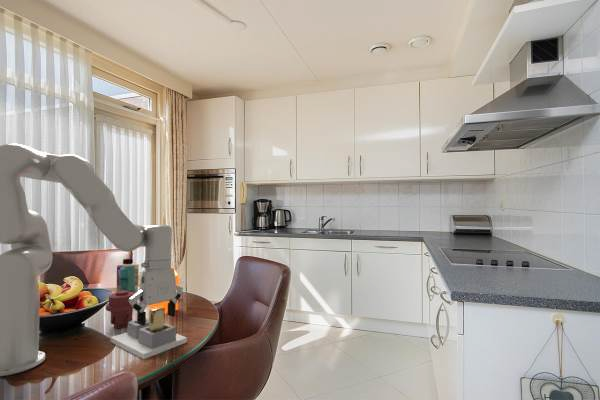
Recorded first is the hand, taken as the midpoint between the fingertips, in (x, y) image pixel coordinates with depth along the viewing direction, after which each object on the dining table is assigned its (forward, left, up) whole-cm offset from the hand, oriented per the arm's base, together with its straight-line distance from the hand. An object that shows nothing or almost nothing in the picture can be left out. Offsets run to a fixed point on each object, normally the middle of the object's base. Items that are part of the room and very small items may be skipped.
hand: (156, 319), depth 98 cm
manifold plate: (0, +5, -8) cm, 9 cm away
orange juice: (+21, +31, -8) cm, 38 cm away
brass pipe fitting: (0, 0, -7) cm, 7 cm away
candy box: (+23, +66, -8) cm, 70 cm away
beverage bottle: (+17, +54, -8) cm, 57 cm away
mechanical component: (+2, +27, -8) cm, 28 cm away
